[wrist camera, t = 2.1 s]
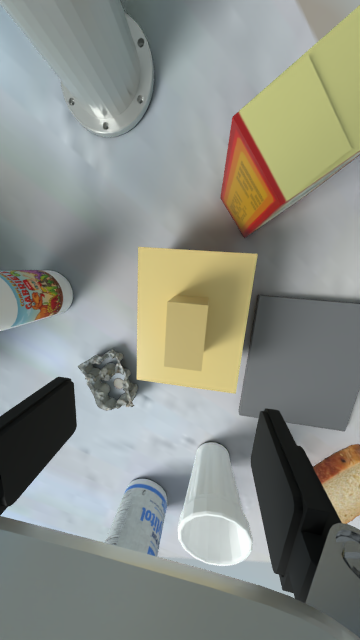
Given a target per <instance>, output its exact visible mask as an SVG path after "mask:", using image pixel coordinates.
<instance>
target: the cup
mask: <svg viewBox="0 0 360 640" xmlns="http://www.w3.org/2000/svg"><path fill="white" fill-rule="evenodd" d="M178 539H179V541H180V542H181V544H182V546H183V547H184V549H185V550H186V551H187V552H188V553H189V554H191V555H192V556H193V557H194V558H196V559H198V560H201V561H203V562H205V563H207V564H212V565H218V566H227V565H235V564H237V563H239V562H241V561H243V560H245V559H246V558H247V556H248V555H249V554H250V552H251V551H252V542H253V539H252V535H251V531H250V527H249V523H248V521H247V519H246V517H245V515H244V513H243V510H242V507H241V503H240V499H239V495H238V491H237V487H236V483H235V479H234V475H233V471H232V467H231V462H230V458H229V453H228V451H227V449H226V448H224V447H223V446H222V445H220V444H218V443H212V442H209V443H205V444H203V445H201V446H200V447H199V448H198V450H197V453H196V457H195V461H194V465H193V470H192V474H191V478H190V482H189V486H188V490H187V494H186V499H185V503H184V507H183V510H182V512H181V515H180V520H179V525H178Z"/></svg>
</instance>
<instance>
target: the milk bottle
mask: <svg viewBox="0 0 360 640" xmlns="http://www.w3.org/2000/svg"><path fill="white" fill-rule="evenodd" d="M72 301H73V291H72V288H71V285H70V284H69V282H68V280H67V279H66V278H65V277H64V276H62V275H61V274H59V273H57V272H55V271H51V270H8V271H0V331H3V330H7V329H11V328H14V327H18V326H21V325H25V324H28V323H32V322H35V321H38V320H42V319H45V318H48V317H52V316H55V315H58V314H61V313H63V312H65V311H66V310H68V308H69V307H70V305H71V304H72Z"/></svg>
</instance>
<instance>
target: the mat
mask: <svg viewBox="0 0 360 640" xmlns="http://www.w3.org/2000/svg"><path fill="white" fill-rule="evenodd" d="M359 389H360V303H348V302H336V301H324V300H312V299H300V298H288V297H275V296H263V295H258V299H257V305H256V311H255V317H254V323H253V329H252V335H251V341H250V347H249V353H248V359H247V365H246V371H245V377H244V383H243V389H242V395H241V400H240V406H239V415H242V416H249V417H255V418H259V414H260V411H264V410H265V408H268V409H274V410H279V411H280V413H281V415H282V417H283V419H284V421H285V422H287V423H294V424H300V425H307V426H313V427H320V428H326V429H333V430H339V431H345V430H346V427H347V424H348V421H349V418H350V415H351V412H352V409H353V406H354V403H355V400H356V397H357V394H358V392H359Z"/></svg>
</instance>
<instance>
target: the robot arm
mask: <svg viewBox="0 0 360 640" xmlns="http://www.w3.org/2000/svg"><path fill="white" fill-rule="evenodd" d="M0 4H1V5H2V7H3V8H4V9H5V10H6V12H7V13H8V14H9V16H10V17H11V18H12V19H13V21H14V22H15V23H16V24H17V26H18V27H19V28H20V29H21V31H22V32H23V33H24V35H25V36H26V37H27V38H28V40H29V41H30V42H31V43H32V45H33V46H34V47H35V48H36V50H37V51H38V52H39V53H40V55H41V56H42V57H43V59H44V60H45V61H46V62H47V64H48V65H49V66H50V67H51V69H52V70H53V71H54V72H55V74H56V75H57V76H58V78H59V79H60V81H61V88H62V92H63V95H64V99H65V101H66V103H67V105H68V108H69V109H70V111H71V112H72V114H73V116H74V117H75V118H76V119H77V120H78V122H79V123H80V124H81V125H82V126H83V127H85V128H86V129H87V130H88V131H90V132H92V133H93V134H95V135H98V136H102V137H115V136H120V135H122V134H124V133H126V132H128V131H129V130H131V129H132V128H133V127H135V125H136V124H137V123H138V122H139V121H140V120H141V118H142V117H143V115H144V114H145V112H146V110H147V108H148V105H149V103H150V100H151V96H152V92H153V86H154V64H153V59H152V54H151V51H150V48H149V44H148V41H147V39H146V37H145V35H144V33H143V31H142V29H141V28H140V26H139V25H138V24H137V22H136V21H135V20H134V19H133V18H132V17H130V16H129V15H128V14H126V13H125V12H124V10H123V7H122V4H121V1H120V0H0ZM76 426H77V423H76V409H75V394H74V383H73V382H72V381H71V379H70V378H64V377H57V378H55V379H54V380H52V381H51V382H50V383H48V384H47V385H45V386H44V387H42V388H41V389H39V390H38V391H36V392H35V393H34V394H32V395H31V396H29V397H28V398H26V399H25V400H23V401H22V402H20V403H19V404H18V405H16V406H15V407H13V408H12V409H10V410H9V411H7V412H6V413H4V414H3V415H2V416H0V515H1V514H2V513H3V512H4V510H5V509H6V508H7V507H8V506H11V505H12V504H14V502H15V501H16V500H17V499H18V498H19V497H20V496H21V494H22V493H23V492H24V491H25V490H26V489H27V487H28V486H29V485H30V484H31V483H32V481H33V480H34V479H35V478H36V477H37V476H38V474H39V473H40V472H41V471H42V470H43V469H44V467H45V466H46V465H47V464H48V463H49V461H50V460H51V459H52V458H53V457H54V456H55V454H56V453H57V452H58V451H59V450H60V449H61V447H62V446H63V445H64V444H65V443H66V441H67V440H68V439H69V438H70V437H71V436H72V434H73V433H74V432H75V430H76ZM251 467H252V472H253V477H254V482H255V487H256V492H257V496H258V501H259V506H260V511H261V516H262V520H263V525H264V530H265V535H266V540H267V544H268V549H269V554H270V559H271V564H272V568H273V571H274V573H276V574H279V576H280V581H281V585H282V590H284V591H288V592H291V593H294V596H295V598H292V597H290V596H288V595H285V594H282V593H279V592H276V591H274V590H271V589H268V588H265V587H262V586H259V585H256V584H253V583H249V582H246V581H242V580H239V579H235V578H232V577H229V576H225V575H222V574H218V573H215V572H212V571H208V570H204V569H201V568H197V567H193V566H189V565H186V564H182V563H178V562H174V561H171V560H167V559H163V558H160V557H156V556H152V555H149V554H145V553H141V552H137V551H134V550H130V549H126V548H122V547H118V546H115V545H111V544H107V543H103V542H99V541H95V540H92V539H88V538H84V537H80V536H76V535H72V534H69V533H65V532H61V531H57V530H53V529H49V528H45V527H41V526H37V525H34V524H30V523H26V522H22V521H18V520H14V519H10V518H6V517H2V516H0V640H360V530H359V529H357V528H355V527H353V526H351V525H348V524H343V523H342V522H341V520H340V518H339V516H338V514H337V512H336V511H335V509H334V507H333V505H332V503H331V501H330V499H329V497H328V495H327V493H326V491H325V489H324V488H323V486H322V484H321V482H320V480H319V478H318V476H317V474H316V472H315V470H314V468H313V466H312V465H311V463H310V461H309V459H308V457H307V455H306V453H305V451H304V450H303V448H302V447H300V446H297V445H296V443H295V441H294V439H293V437H292V435H291V433H290V431H289V429H288V427H287V425H286V423H285V421H284V419H283V417H282V415H281V413H280V411H279V410H274V409H268V408H265V410H264V411H260V414H259V419H258V424H257V429H256V435H255V440H254V445H253V450H252V455H251Z"/></svg>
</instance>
